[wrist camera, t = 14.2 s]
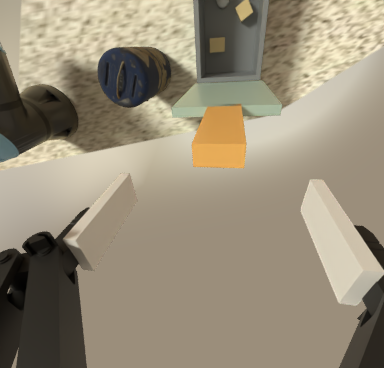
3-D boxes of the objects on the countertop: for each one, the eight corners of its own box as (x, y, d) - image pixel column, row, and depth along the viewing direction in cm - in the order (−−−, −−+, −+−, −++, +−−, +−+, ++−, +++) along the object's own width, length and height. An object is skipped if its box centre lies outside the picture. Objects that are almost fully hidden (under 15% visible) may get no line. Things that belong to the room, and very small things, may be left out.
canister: (180, 65, 46) (155, 74, 31) (160, 100, 51) (131, 121, 37) (144, 36, 44) (101, 31, 29) (128, 75, 49) (84, 87, 34)
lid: (194, 83, 39) (195, 94, 40) (136, 143, 16) (141, 165, 17) (262, 80, 37) (261, 91, 38) (314, 144, 13) (306, 169, 14)
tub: (202, 77, 46) (197, 83, 39) (199, -33, 36) (190, -53, 29) (255, 74, 44) (259, 79, 37) (267, -44, 34) (276, -68, 27)
